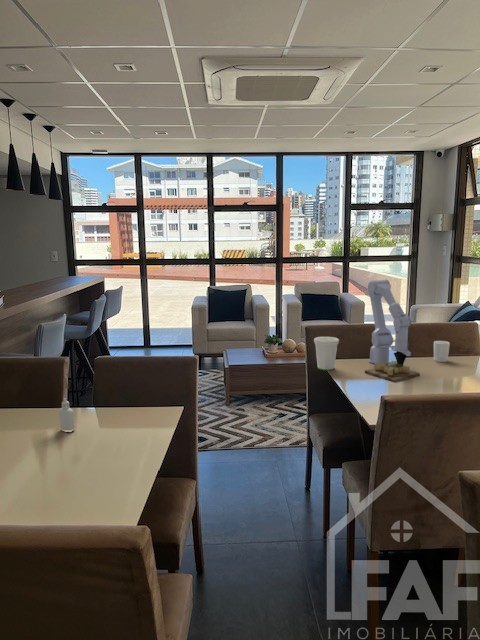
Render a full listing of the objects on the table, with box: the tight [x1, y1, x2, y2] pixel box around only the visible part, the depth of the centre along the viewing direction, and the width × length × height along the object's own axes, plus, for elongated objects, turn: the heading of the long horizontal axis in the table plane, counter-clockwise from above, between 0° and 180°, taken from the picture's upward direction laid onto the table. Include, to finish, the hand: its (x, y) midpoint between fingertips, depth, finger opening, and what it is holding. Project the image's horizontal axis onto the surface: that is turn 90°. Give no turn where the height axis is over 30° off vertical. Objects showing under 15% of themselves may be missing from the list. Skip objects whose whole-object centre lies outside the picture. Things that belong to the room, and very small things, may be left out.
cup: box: [313, 336, 340, 371], centre depth 231 cm, size 12×12×15 cm
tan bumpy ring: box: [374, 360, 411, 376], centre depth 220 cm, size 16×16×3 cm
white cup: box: [433, 340, 451, 363], centre depth 243 cm, size 8×8×10 cm
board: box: [364, 364, 421, 383], centre depth 220 cm, size 18×18×5 cm
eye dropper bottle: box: [58, 397, 76, 430], centre depth 160 cm, size 4×6×12 cm
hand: (400, 366), depth 225 cm, fingers closed
